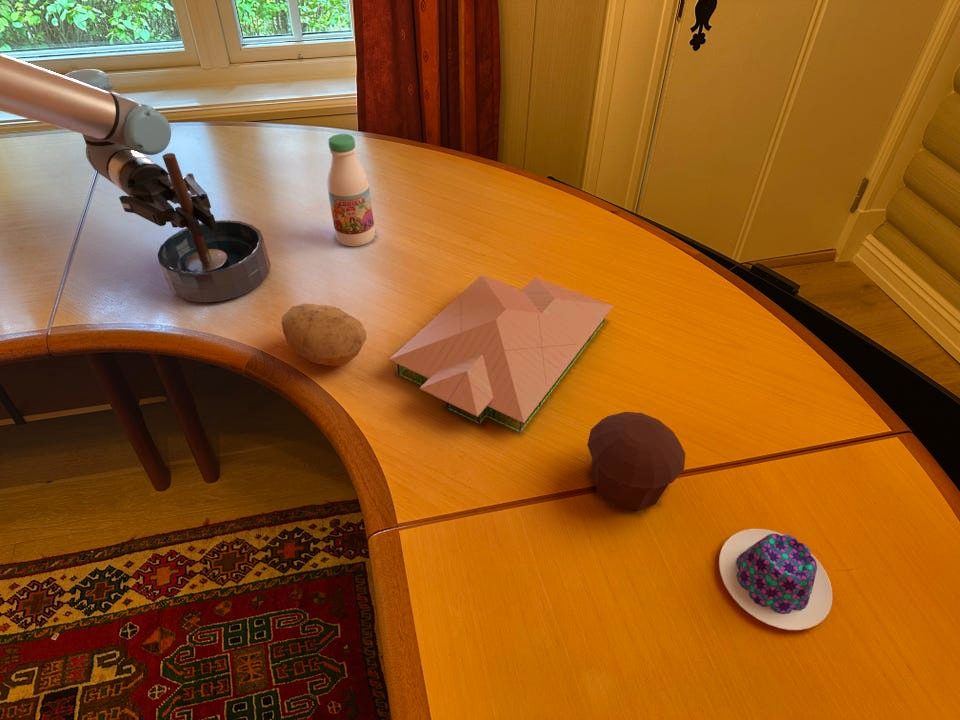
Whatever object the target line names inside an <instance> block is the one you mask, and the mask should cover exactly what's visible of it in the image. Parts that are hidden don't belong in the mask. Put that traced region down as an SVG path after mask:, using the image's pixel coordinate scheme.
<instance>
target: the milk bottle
mask: <svg viewBox="0 0 960 720" xmlns="http://www.w3.org/2000/svg"><path fill="white" fill-rule="evenodd" d="M327 144H328V148H329V153H330V154H331V161H330V165H329V170H328V172H327V177H326V179H327V180H326V183H327V184H326V185H327V191H328V192H327V193H328V194H327V195H328V199H329V206H330V211H331V217H332V221H333V222H332V223H333V228H334V234H335V239H336V240H337V241H338V242H339V243H340V244H341V245H344V246H347V247H359V246H364V245H366V244H369V243H370V242H371V241H373V240H374V238H375V236H376V235H375V234H376V229H375V220H374V213H373V205H372V198H371V190H370V184H369V180H368V176H367V173H366V171H365V169H364V168H363V166H362V165H361V163H360V161H359V160H358V158H357V154H356V150H357V148H356V140H355V138H354V136H353V135H351V134H347V133H339V134H333V135H332V136H330V137H329V138H328V140H327Z"/></svg>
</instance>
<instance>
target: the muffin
mask: <svg viewBox="0 0 960 720" xmlns="http://www.w3.org/2000/svg"><path fill="white" fill-rule="evenodd" d="M589 431H590V432H589V436H588V440H587V445H586V446H587V448H588V451H589V453H590V456H591V472H592V473H591V475H592V478H593V481H594V483H595V487H596V493H597V494H598V495H600V496H601V497H603V499H606V500H607V502H608V503H610V505H611V506H612V507H614V508H621V509H626V510H629V511H634V512H638V511H641V510H642V509H644V508H646V507H649V506H653V505H656V504H657V503H658V501H659V500H660V498H661V496H662V495H663V494H664V492H665V491H666V489H667V487H668V486H669V485H670V484H672V483H674V482H675V481H676V480H677V478H678V477H679V476H680V475H681V474H682V472H684V471H685V465H686V464H685V463H686V452H685V450H684V448H683V445H682V444H681V442H680V440H679V438H678V437H677V435H676V434H675V432H674V431H673V430H672V429H671V428H669V426H667V425H666V424H665V423H663V422H662V421H661V420H660V419H658V418H656V417H653V416H650V415H649V414H645V413H644V412H634V411H622V412H619V413H615V414H610V415H607V416H605V417H604V418H602V419H600V420H599V422H597V423H596V424H595V425H594V426H593V427H592V428H591V429H590V430H589Z"/></svg>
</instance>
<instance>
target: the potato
mask: <svg viewBox="0 0 960 720" xmlns="http://www.w3.org/2000/svg"><path fill="white" fill-rule="evenodd" d="M281 328H282V333H283V335H284V338H285V340H286V342H287V344H288V345H289V347H290V348H291V349H292V350H293V351H294V352H296V354H298V355H300V356H301V357H303V358H304V359H306V360H308V361H310V362H312V363H315V364H319V365H323V366H334V367H338V366H343V365H347V364H348V363H349V362H351V361H352V360H353V359H355V358H356V357H358V355H359V353H360V351H361V350H362V347H363V346H364V344H365V342H366V340H367V331H366V329H365V327H364V324H363V323H362V322H361V321H360V320H359V319H358V318H355V317H354V316H352V315H351V314H348V312H345V311H344V310H342V309H341V308H340V307H336V306H333V305H327V304H317V303H301V304H298V305H294V306H291V308H289V309H288V311H286V313H284V314H283V315H282V316H281Z"/></svg>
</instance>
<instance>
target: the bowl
mask: <svg viewBox="0 0 960 720" xmlns="http://www.w3.org/2000/svg"><path fill="white" fill-rule="evenodd" d="M215 222H216V225H217V228H218V230H217V231H212V230H211V229H210V228H208V227H207V226H206V225H204V224H203V223H202V222H199V223H200V226H201V229H202V232H203V235H204V239H205V242H206V245H207V248H208V249H217V250H221V251H223V252H225V253H226V255H227V258H228V261H229V264H230V267H227V268H223V269H219V270H215V271H211V272H199V273H193V272H187V269H186V267H185V261H186V259H187V258H188V257H189V256H191V255H192V254H194V253H196V252H197V250H196V247H195V244H194V242H193V239H192V236H191V234H190V231H189V229H188V228H186V227H185V228H182V229H181V230H179V231H177V232H176V233H174V234H173V235H171V236H169V237H168V238H167V239H165V241H164V242H162V244H161V245H160V246H159V249H158V251H157V260H158V263H159V266H160V267H161V271H162V273H163V275H164V278H165V280H166V282H167V285H168V287H169V289H170V291H171V292H173V294H174V295H176V296H177V297H178V298H181V299H184V300H186V301H188V302H195V303H213V302H214V303H215V302H223V301H226V300H231V299H234V298H238V297H240V296H243V295H245V294H247V293H249V292H252V291H253V290H254V289H255V288H257V287H258V286H260V285H261V284H262V283H263V282H264V281H265V279H266V278H267V277H268V275H269V274H270V270H271V265H272V264H271V261H270V257H269V254H268V249H267V246H266V242H265V238H264V236H263V234H262V232H261V230H260V229H258V228H257V227H256V226H254V225H253V224H250V223H247V222H244V221H241V220H231V219H224V220H223V219H222V220H215Z"/></svg>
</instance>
